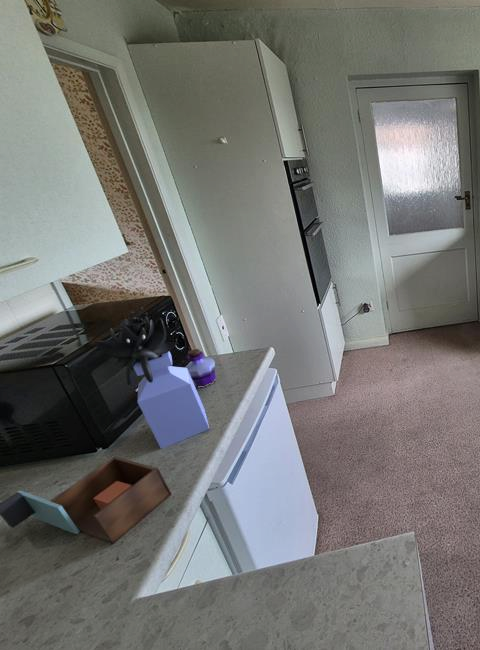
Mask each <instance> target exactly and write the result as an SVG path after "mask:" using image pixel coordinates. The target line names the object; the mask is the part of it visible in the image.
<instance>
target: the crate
mask: <svg viewBox="0 0 480 650" xmlns="http://www.w3.org/2000/svg"><path fill="white" fill-rule="evenodd" d="M116 481H119V482H123V483H126V484H129V485H132V487H130V488H129V489H128V490H126V491H125V492H124V493H123V494H121V495H120V496H119V497H117V498H116V499H115V500H114V501H112V502H111V503H110V504H108V505H107V506H106V507H104V508H103V509H102V510H100V508H99V507H98V505H97V503H96V502H95V500H94V499H93V498H94V497H96V496H97V495H98V494H100V493H101V492H103V491H104V490H105V489H107V488H108V487H109V486H111V485H112V484H113V483H115V482H116ZM170 496H172V492H171V489H169V486H168V484H167V482H166V481H165V479H164V477H163V475H162V473H161V470H160V469H159V468H158V467H155V466H152V465H148V464H144V463H141V462H137V461H133V460H130V459H126V458H124V457H123V458H122V457H119V456H115V455H114V456H113V457H112V458H110V459H109V460H107V461H106V462H104V463H103V464H101V465H100V466H98V467H97V468H96V469H94V470H93V471H91V472H90V473H88V474H87V475H86V476H84V477H82V478H81V479H80V480H78V481H77V482H75V483H74V484H72V485H71V486H69V487H67V488H66V489H65V490H63V491H62V492H60V493H59V494H58V495H56V496H55V497H53V498H51V499H50V502H53V503H56V504H58V505H61V506H62V507H63V509H64V510H65V511H66V513H67V514H68V516H69V517H70V519H71V520H72V521H73V523H74V524H75V526H76V527H77V528H78V530H79V531H80V532H82V533H84V534H87V535H90V536H92V537H94V538H97V539H100V540H103V541H105V542H108V543H109V544H113V545H114V544H116V543H117V542H118V541H119V540H120V539H122V538H123V537H124V536H125V535H126V534H127V533H129V532H130V531H131V530H132V529H133V528H135V526H136V525H137V524H140V522H142V520H144V519H145V518H146V517H147V516H148V515H150V513H152V512H153V511H154V510H155V509H157V507H159V506H160V505H161V504H162V503H163V502H164V501H166V500H167V499H168V498H169V497H170Z"/></svg>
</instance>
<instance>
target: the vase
mask: <svg viewBox="0 0 480 650" xmlns="http://www.w3.org/2000/svg"><path fill="white" fill-rule="evenodd" d="M140 310H141V311H142V310H144V308H143V306H141V307H139V309H137V310H136V311H135V312H134V311H130V315H129V316H128V318H123V319H122V320H121V321H120V322H121V327H120V326H118V327H117V333H118V337H117V336H116V334H115V333H114V331H113V328H111V327H110V328H109V333H110V336H111V339H105V340H97V341H96V340H95V341H94V342H93V344H94V346H95V347H97V348H98V349H99V350H100V351H101V352H103V354H105V355H107V356H108V357H110V358H113V359H116V360H117V361H116V362H115V364H114V365H113V367H112V369H120V368H125V371H124V379H125V383H126V384H127V386H131V385H132V383H133V373H134V372H133V371H135V374H136V376H137V377H140V376H143V375H144V377H143V378H142V379H141V380H140V382H138V383H137V386H138V387H137V404H138V406H139V408H140V410H141V412H142V414H143V416H144V419H145V420H146V424H148V426H149V428H150V430H151V432H152V434H153V436H154V438H155V440H156V441H157V444H158V446H159V448H160V449H161V450H162V449H165V448H167V447H169V446H172V445H175V444H177V443H179V442H182V441H184V440H187V439H190V438H191V437H194V436H196V435H199V434H201V433H204V432H207V431H209V430H210V426H209V421H208V417H207V413H205V412H206V410H205V407H204V404H203V402H202V400H201V397H200V395H199V393H198V390H197V387H196V386H195V382H194V381H193V379H191V376H190V374H189V371H188V369H187V368H185V367H182V366H173V358H172V354H171V352H170V351H172V350H173V348H175V346H177V344H178V342H177V341H173V342H166V341H167V334H168V333H167V330H166V326H165V324H164V321H163V319H162V318H161V317H159V318H157V320H156V321H155V322H153V320H152V319H149V318H148V314H149V313H148V312H144V314H143V315H142V316H140V317H135V316H136V314H137V313H138V312H139V311H140ZM132 315H133V316H132ZM131 316H132V318H130V317H131ZM144 316H145V318H144V319H143V318H142V317H144Z"/></svg>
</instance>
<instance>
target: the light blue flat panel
mask: <svg viewBox="0 0 480 650" xmlns="http://www.w3.org/2000/svg"><path fill="white" fill-rule="evenodd" d="M0 516H1V518H2V519H3V521H5V523H6V524H7V525H8V527H10V528H11V529H14V528H16V527H17V526H18V525H20V524H21V523H22V522H24V521H26V520H27V519H29V518H30V517H31V516H33V517H34V518H35V519H36V520H39V521H40V522H44V523H46V524H49V525H51V526H54V527H56V528H59V529H62V530H64V531H66V532H69V533H72V534H75V535H78V534H79V533H80V532H81V531H79V530H78V528H77V527H76V526H75V524H74V523H73V521H72V520H71V519H70V517H69V516H68V514H67V513H66V511H65V510H64V509H63V507H62V506H61V505H58V504H56V503H53V502H51V500H48V499H44V498H42V497H39V496H36V495H33V494H30V493H29V492H26V491H22V490H18V491H16V492H15V493H14V494H12V495H11V496H9V497H7V498H6V499H4V500H2V501H1V502H0Z"/></svg>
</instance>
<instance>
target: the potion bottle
mask: <svg viewBox="0 0 480 650" xmlns="http://www.w3.org/2000/svg"><path fill="white" fill-rule="evenodd" d="M204 357H205V355H204V352H203V351H202V350H200V348H195V349H191V350H188V351H187V356H186V358H187V361H188V362H190V363H188V364H187V365H186V366H185V367H184V368H187V369H188V371H189V374H190V376H191V379H192V381H193V383H194V384H195V385H196V386H197V385H198V386H205V385H207V384H209V383H212V382H213V381H214V379H216V371H215V370H216V363H215V362H216V361H215V360H214V359H213V358H212V357H206V358H204Z"/></svg>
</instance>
